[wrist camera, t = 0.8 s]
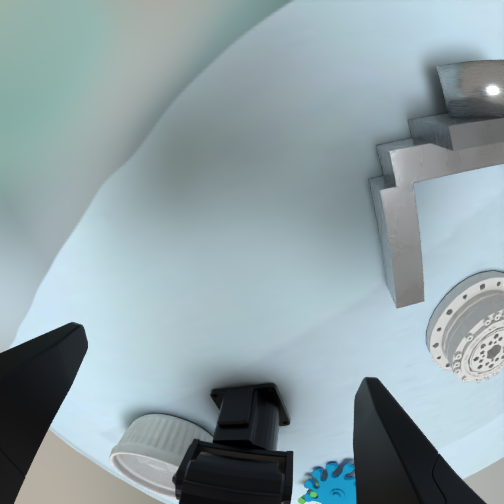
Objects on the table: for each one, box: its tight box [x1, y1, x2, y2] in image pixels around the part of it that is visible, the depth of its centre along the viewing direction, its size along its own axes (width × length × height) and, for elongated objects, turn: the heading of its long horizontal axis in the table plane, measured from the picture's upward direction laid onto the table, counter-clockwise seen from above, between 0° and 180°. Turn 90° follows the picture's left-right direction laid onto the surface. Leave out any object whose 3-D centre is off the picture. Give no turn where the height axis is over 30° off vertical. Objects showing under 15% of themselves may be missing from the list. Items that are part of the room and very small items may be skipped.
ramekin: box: [110, 414, 213, 499], centre depth 31 cm, size 13×13×7 cm
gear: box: [298, 463, 356, 504], centre depth 33 cm, size 11×6×10 cm
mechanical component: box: [427, 271, 504, 383], centre depth 21 cm, size 10×4×10 cm
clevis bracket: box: [369, 60, 504, 308], centre depth 15 cm, size 14×16×6 cm
